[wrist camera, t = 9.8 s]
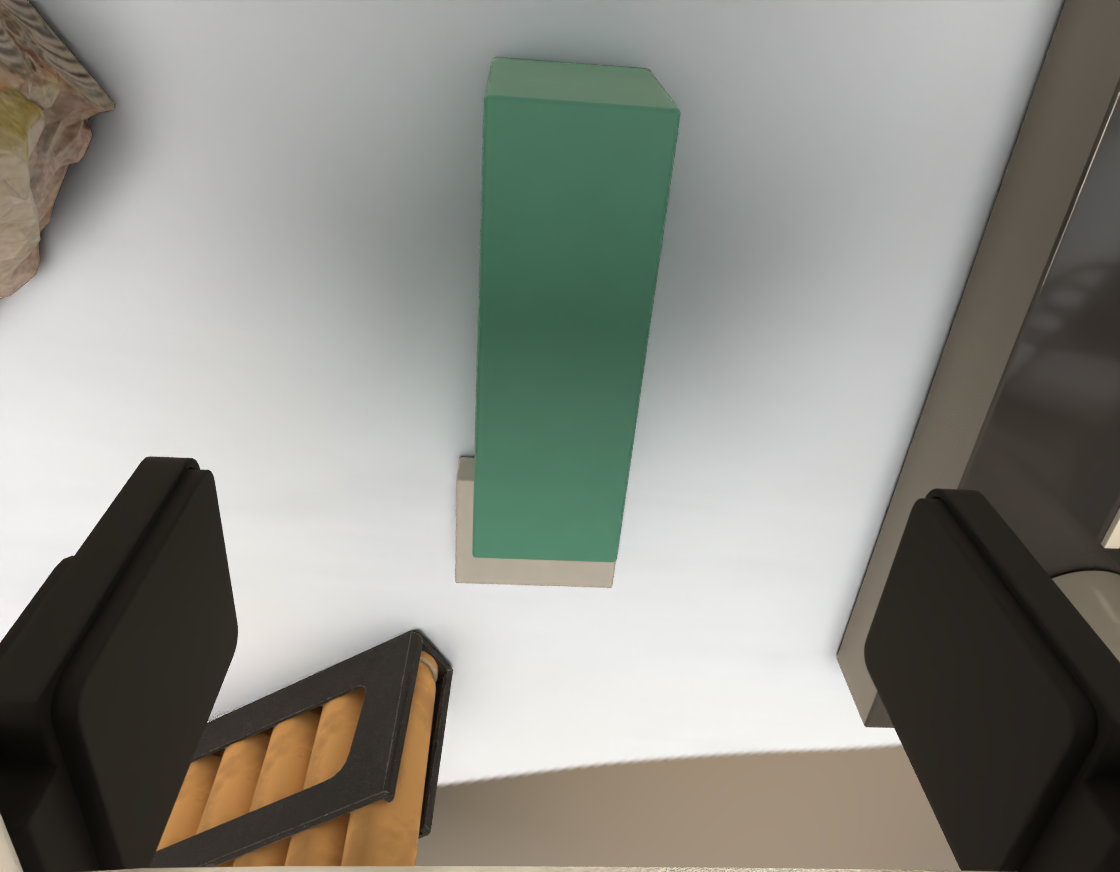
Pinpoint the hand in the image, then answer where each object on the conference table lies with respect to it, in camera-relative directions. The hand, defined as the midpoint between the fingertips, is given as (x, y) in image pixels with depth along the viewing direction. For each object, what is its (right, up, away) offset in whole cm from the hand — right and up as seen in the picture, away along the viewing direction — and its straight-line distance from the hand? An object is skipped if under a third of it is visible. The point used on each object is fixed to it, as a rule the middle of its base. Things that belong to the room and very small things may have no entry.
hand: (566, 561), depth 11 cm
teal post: (0, +4, +8) cm, 8 cm away
